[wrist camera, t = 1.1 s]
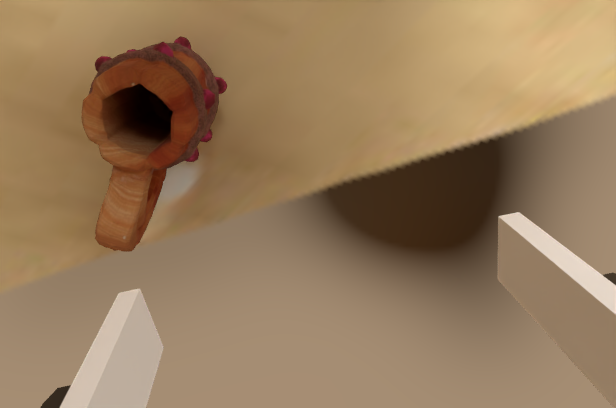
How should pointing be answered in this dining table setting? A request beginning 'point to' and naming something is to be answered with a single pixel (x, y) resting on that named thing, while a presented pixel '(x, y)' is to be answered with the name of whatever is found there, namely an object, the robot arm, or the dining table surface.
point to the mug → (146, 128)
